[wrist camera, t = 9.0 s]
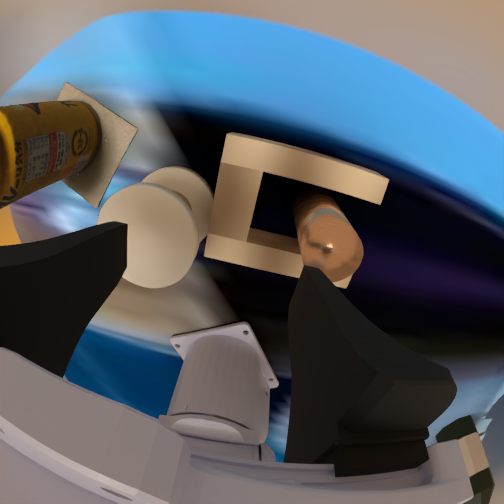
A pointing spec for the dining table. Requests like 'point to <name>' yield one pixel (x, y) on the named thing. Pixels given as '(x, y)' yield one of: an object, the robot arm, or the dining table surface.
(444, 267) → the dining table surface
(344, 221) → the copper peg
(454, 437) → the wine bottle
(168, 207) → the bobbin
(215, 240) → the notched board
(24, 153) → the condiment
